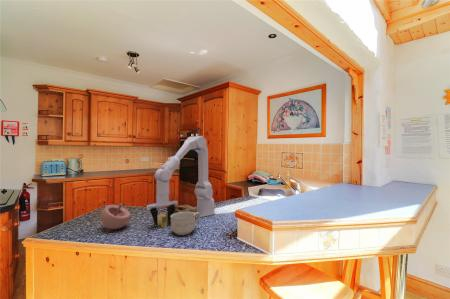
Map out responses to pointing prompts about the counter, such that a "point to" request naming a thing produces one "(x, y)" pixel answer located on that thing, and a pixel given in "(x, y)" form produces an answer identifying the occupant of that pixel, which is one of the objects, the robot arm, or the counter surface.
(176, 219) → the teacup
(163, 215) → the brass token
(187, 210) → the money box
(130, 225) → the counter surface
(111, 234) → the counter surface
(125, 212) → the mortar and pestle
